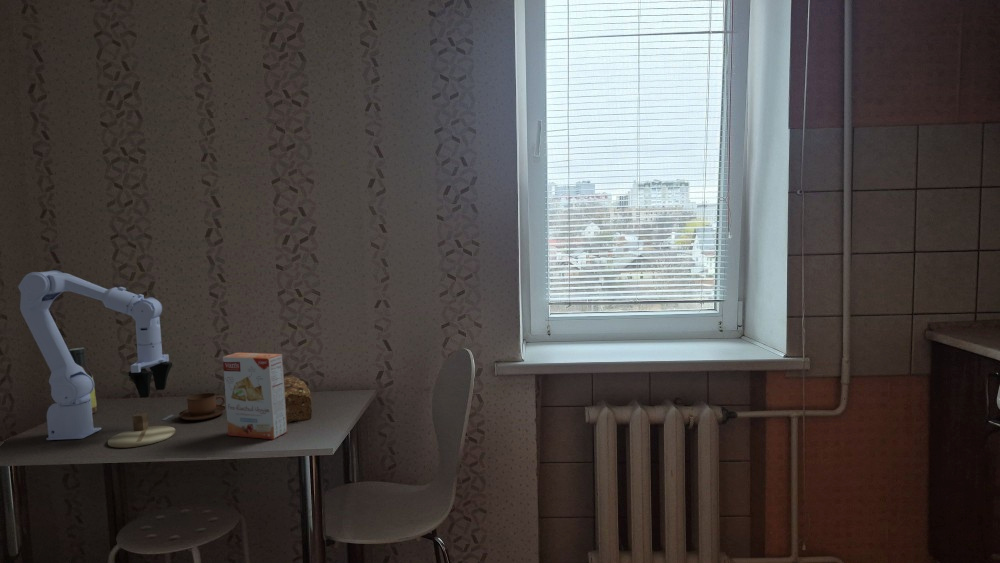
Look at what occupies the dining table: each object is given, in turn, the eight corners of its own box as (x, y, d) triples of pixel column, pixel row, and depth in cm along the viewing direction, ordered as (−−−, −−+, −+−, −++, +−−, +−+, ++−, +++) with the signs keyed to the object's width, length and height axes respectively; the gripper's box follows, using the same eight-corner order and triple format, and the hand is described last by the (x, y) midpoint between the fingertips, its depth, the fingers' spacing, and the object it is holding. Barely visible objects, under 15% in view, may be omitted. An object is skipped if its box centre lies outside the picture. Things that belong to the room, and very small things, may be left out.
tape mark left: (161, 420, 171) (161, 419, 171) (170, 415, 176) (170, 414, 176) (165, 420, 171) (165, 419, 171) (174, 415, 176) (174, 414, 176)
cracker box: (226, 437, 154) (221, 356, 153) (243, 429, 160) (237, 351, 158) (273, 440, 150) (267, 357, 149) (288, 432, 156) (283, 352, 154)
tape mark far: (211, 406, 184) (211, 405, 184) (212, 405, 185) (212, 405, 185) (227, 405, 184) (227, 405, 184) (228, 404, 185) (228, 404, 185)
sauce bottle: (102, 410, 184) (96, 346, 182) (86, 417, 177) (80, 350, 176) (82, 411, 184) (76, 346, 183) (65, 417, 178) (59, 350, 177)
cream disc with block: (114, 433, 160) (112, 416, 159) (178, 424, 166) (176, 408, 165) (101, 451, 146) (100, 432, 146) (172, 441, 152) (170, 423, 151)
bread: (266, 409, 179) (263, 376, 178) (303, 404, 184) (301, 371, 183) (273, 426, 162) (271, 390, 161) (314, 419, 167) (312, 384, 166)
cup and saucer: (209, 409, 182) (208, 389, 181) (234, 414, 176) (233, 393, 175) (170, 420, 172) (168, 399, 171) (195, 426, 165) (193, 403, 165)
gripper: (148, 347, 155) (152, 400, 156) (178, 338, 169) (181, 386, 170) (121, 348, 155) (124, 400, 156) (153, 339, 169) (156, 386, 170)
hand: (152, 393), depth 163 cm, fingers open, 7 cm apart
